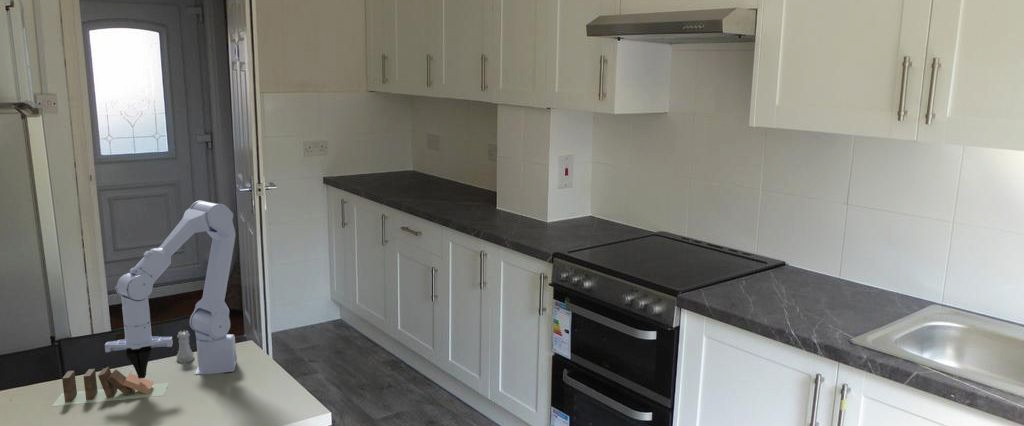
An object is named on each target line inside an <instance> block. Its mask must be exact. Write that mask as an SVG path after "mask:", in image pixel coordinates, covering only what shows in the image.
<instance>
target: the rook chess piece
mask: <svg viewBox="0 0 1024 426" xmlns="http://www.w3.org/2000/svg"><path fill="white" fill-rule="evenodd" d="M190 335H191V334H190V333H189V330H183V331H182V330H180V331H178V332H177V335H176V337H177V339H178V344H179V346H178V352H177V354H176V361H177V362H178V363H187V362H191V361H193V360H194V359H195V356H194V355H195V354H194V352H193V351H192V349H191V346H190V345H191V344H190Z"/></svg>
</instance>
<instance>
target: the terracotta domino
mask: <svg viewBox="0 0 1024 426" xmlns="http://www.w3.org/2000/svg"><path fill="white" fill-rule="evenodd" d="M153 384H155V382H154V381H152V380H150V379H147V378H146V377H145V378H138V375H137V374H134V373H131V372H129V373H128V375H127V376H126V380H125V382H124V384H123V385H124V386H127V387H129V388H132V389H135V390H138V391H140V392H143V393H146V394H148V393H149V391H150V389H151V387H152V385H153Z"/></svg>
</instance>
